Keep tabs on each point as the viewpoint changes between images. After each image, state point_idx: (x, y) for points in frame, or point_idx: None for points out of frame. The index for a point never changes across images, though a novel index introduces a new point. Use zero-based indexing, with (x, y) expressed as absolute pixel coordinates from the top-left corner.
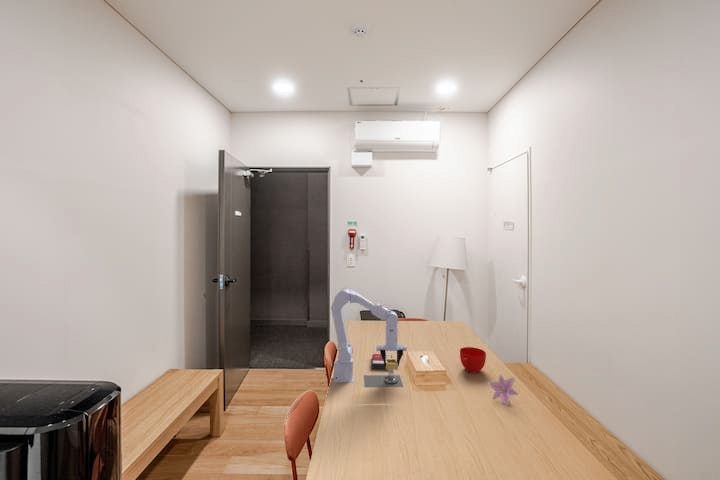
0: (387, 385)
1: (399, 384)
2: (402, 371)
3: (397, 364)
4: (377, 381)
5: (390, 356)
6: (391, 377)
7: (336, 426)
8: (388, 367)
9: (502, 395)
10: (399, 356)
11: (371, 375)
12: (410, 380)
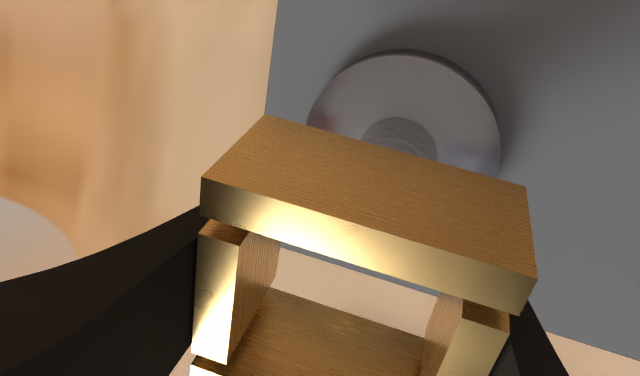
0: (517, 22)
1: (322, 9)
2: None
3: (225, 168)
4: (608, 181)
5: None
6: (402, 132)
7: None
8: (469, 197)
9: None
10: (30, 317)
11: (598, 343)
12: (155, 103)
